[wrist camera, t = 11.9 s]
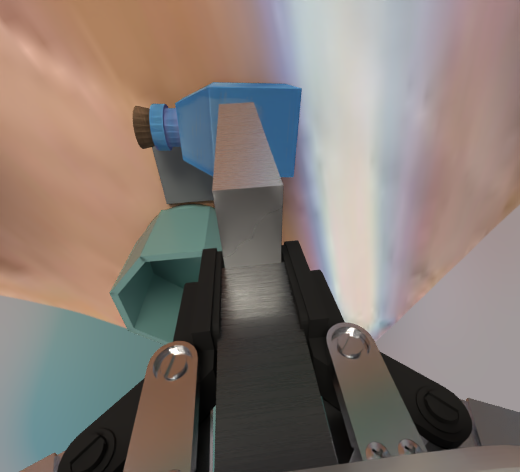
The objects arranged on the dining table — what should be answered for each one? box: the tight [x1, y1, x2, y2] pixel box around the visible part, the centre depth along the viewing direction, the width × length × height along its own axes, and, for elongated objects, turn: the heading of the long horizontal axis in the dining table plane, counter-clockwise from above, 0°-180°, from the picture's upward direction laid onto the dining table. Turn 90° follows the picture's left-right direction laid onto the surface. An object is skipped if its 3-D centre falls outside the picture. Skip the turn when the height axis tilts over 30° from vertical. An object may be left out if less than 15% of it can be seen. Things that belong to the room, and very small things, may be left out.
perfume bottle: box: [133, 82, 302, 177], centre depth 21 cm, size 6×6×12 cm
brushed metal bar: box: [212, 102, 338, 472], centre depth 11 cm, size 2×9×18 cm, turn 3°
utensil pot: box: [110, 204, 225, 345], centre depth 28 cm, size 12×12×9 cm
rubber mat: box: [152, 146, 214, 204], centre depth 26 cm, size 12×9×1 cm
